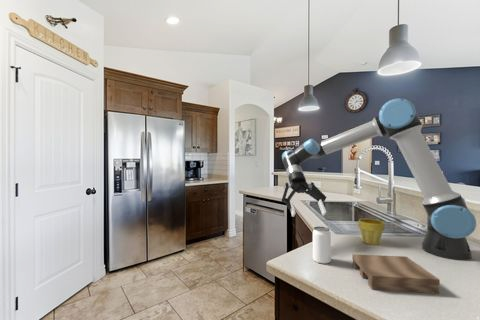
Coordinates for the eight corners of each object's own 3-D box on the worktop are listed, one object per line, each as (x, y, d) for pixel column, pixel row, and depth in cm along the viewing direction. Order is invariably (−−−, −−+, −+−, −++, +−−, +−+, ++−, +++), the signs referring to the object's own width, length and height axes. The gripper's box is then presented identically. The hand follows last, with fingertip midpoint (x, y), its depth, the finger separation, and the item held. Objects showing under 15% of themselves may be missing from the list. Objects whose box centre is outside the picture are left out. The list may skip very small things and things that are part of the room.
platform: (406, 268, 82) (406, 256, 82) (439, 293, 67) (439, 279, 67) (352, 265, 85) (352, 254, 85) (372, 289, 69) (372, 275, 69)
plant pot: (377, 238, 113) (377, 218, 113) (389, 246, 103) (389, 224, 103) (355, 238, 114) (355, 218, 114) (364, 246, 104) (364, 223, 104)
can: (319, 265, 85) (319, 231, 85) (309, 258, 91) (309, 226, 91) (334, 263, 86) (334, 230, 86) (323, 256, 93) (323, 225, 93)
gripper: (317, 181, 118) (333, 218, 104) (269, 181, 115) (278, 220, 100) (322, 170, 113) (340, 208, 98) (272, 171, 110) (282, 210, 95)
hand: (309, 214), depth 99 cm, fingers open, 13 cm apart
